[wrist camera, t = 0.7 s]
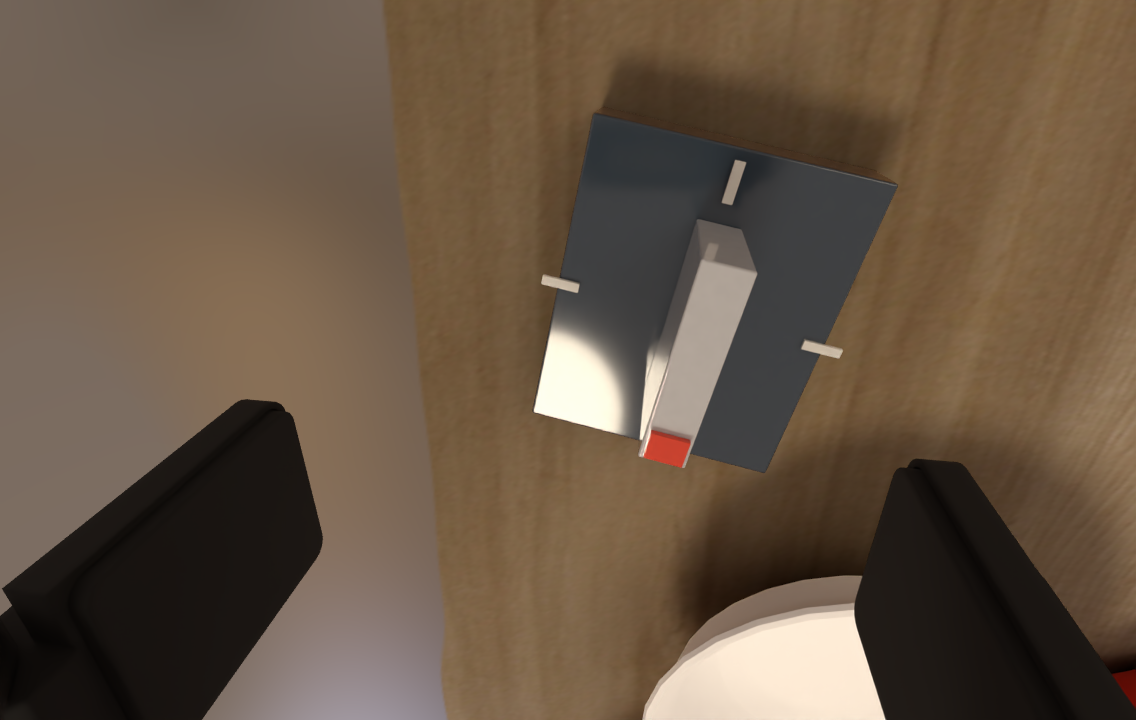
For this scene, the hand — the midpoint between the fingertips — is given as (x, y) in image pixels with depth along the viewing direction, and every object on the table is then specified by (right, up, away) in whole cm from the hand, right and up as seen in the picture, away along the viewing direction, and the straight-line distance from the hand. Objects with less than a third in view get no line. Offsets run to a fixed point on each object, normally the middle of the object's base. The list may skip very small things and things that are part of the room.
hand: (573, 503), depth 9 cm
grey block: (+4, +4, +13) cm, 14 cm away
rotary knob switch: (+5, +5, +15) cm, 16 cm away
